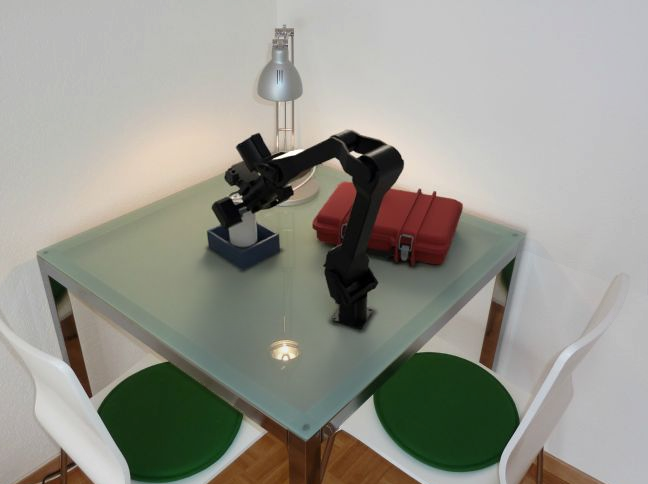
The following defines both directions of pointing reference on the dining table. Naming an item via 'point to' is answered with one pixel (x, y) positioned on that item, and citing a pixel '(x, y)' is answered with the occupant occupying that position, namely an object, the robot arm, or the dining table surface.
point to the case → (249, 255)
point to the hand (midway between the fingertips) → (238, 214)
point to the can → (243, 226)
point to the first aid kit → (396, 224)
